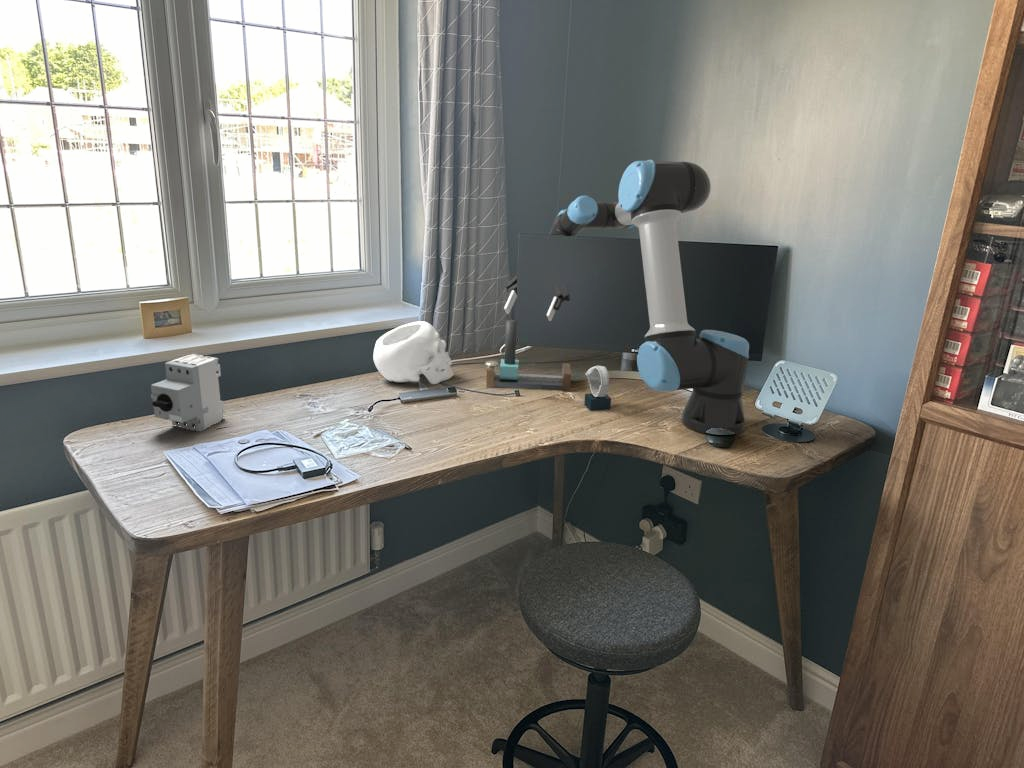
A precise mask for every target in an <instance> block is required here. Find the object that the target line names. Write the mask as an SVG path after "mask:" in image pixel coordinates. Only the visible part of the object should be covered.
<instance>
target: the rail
mask: <svg viewBox="0 0 1024 768" xmlns="http://www.w3.org/2000/svg"><path fill="white" fill-rule="evenodd" d="M484 365H485V366H486V367H487V368H486V382H485V383H486V387H485V388H490V389H491V388H492V389H493V388H503V389H519V388H524V389H525V390H538V389H541V390H543V391H557V392H558V391H559V392H560V391H562V392H566V393H567V392H569V393H570V392H571V383H572V382H571V381H572V372H571V364H570V363H568V362H566V363H564V362H563V363H562V367H561V368H562V369H561V374H560V375H558V374H541V373H539V374H538V373H521V372H518V380H509V379H500V371H497V367H498V366H499V362H498V361H497V359H488V360H486V361H485V363H484Z"/></svg>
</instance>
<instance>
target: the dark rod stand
mask: <svg viewBox="0 0 1024 768" xmlns="http://www.w3.org/2000/svg"><path fill="white" fill-rule="evenodd" d="M517 327H518V320H516V319H506V321H505V336H504V358H501V359H500V364H499V365H500V366H499V372H500V379H509V380H518V373H519V364H520V363H519V362H520V360H519V359H516V349H517V347H516V346H517V329H518V328H517Z"/></svg>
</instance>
